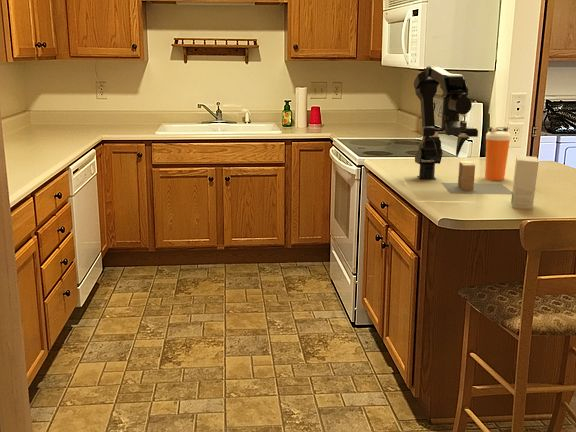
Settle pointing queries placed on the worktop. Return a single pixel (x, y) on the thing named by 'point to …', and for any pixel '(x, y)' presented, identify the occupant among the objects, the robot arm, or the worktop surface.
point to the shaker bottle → (496, 152)
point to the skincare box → (524, 182)
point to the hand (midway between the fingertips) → (447, 156)
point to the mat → (478, 188)
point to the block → (466, 175)
